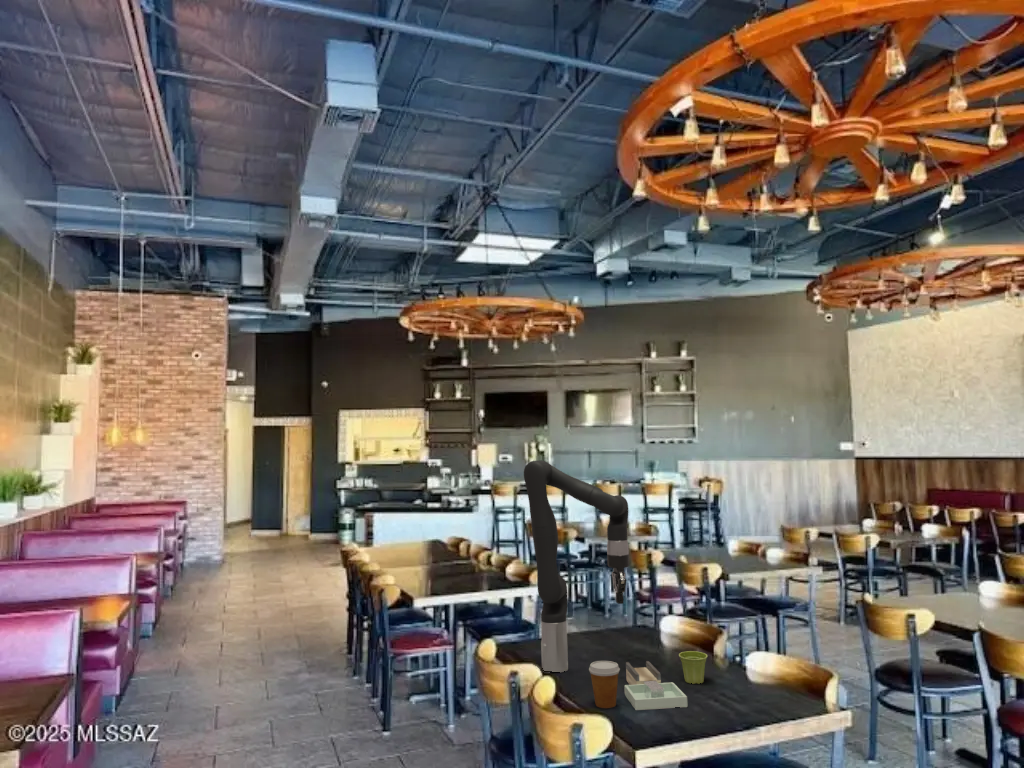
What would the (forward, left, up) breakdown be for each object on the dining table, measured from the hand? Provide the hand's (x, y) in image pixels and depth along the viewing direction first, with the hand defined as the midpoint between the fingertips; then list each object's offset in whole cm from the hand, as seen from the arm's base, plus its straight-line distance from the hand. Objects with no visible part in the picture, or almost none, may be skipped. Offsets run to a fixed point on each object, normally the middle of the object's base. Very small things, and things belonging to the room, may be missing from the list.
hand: (619, 603), depth 252 cm
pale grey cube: (+4, -25, -22) cm, 34 cm away
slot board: (+4, -12, -25) cm, 28 cm away
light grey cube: (+4, -23, -24) cm, 34 cm away
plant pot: (+22, -10, -25) cm, 35 cm away
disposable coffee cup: (-12, -27, -25) cm, 38 cm away
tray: (+4, -26, -25) cm, 36 cm away
